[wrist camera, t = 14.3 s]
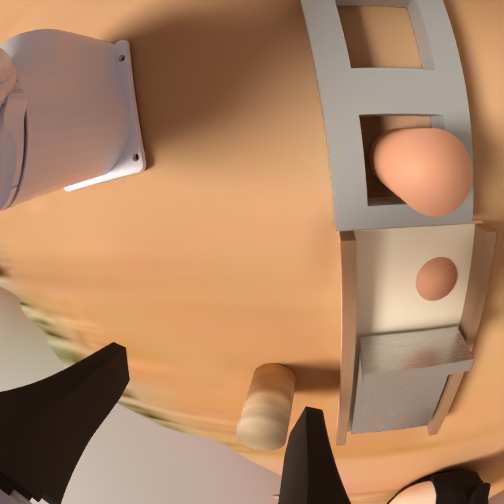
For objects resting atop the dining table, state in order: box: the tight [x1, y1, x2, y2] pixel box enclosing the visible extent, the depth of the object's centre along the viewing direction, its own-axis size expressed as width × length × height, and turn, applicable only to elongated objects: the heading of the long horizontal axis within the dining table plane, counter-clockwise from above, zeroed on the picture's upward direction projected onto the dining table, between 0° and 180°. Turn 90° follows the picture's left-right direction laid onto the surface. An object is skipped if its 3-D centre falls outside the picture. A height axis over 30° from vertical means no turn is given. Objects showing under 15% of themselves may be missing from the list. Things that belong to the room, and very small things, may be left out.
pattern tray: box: [336, 220, 497, 446], centre depth 18 cm, size 19×10×2 cm, turn 9°
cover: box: [351, 326, 474, 434], centre depth 18 cm, size 10×7×4 cm
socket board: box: [300, 0, 474, 231], centre depth 12 cm, size 14×8×2 cm, turn 9°
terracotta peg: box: [369, 128, 473, 217], centre depth 12 cm, size 3×3×6 cm
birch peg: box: [235, 363, 296, 450], centre depth 20 cm, size 3×3×6 cm
